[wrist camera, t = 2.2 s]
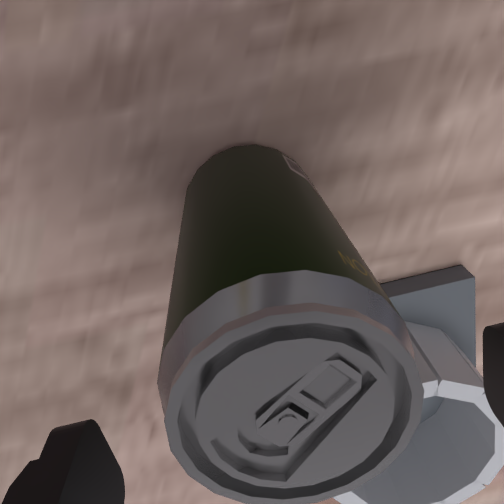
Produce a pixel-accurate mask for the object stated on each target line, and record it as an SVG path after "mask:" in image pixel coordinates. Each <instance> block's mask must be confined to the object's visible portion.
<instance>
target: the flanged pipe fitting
mask: <svg viewBox="0 0 504 504" xmlns="http://www.w3.org/2000/svg"><path fill="white" fill-rule="evenodd" d="M380 286H381V287H382V289H383V290H384V292H385V293H386V295H387V296H388V298H389V299H390V301H391V302H392V304H393V305H394V307H395V308H396V310H397V311H398V313H399V314H400V316H401V317H402V319H403V320H404V322H405V323H406V327H407V330H408V333H409V337H410V340H411V343H412V346H413V350H414V353H415V356H414V360H415V362H416V365H417V369H418V372H419V375H420V378H421V382H422V385H423V388H424V397H423V405H422V413H421V421H420V423H419V425H418V427H417V429H416V430H415V432H414V434H413V436H412V438H411V440H410V442H409V444H408V445H407V447H406V449H405V450H404V451H403V452H402V453H401V454H400V455H399V456H398V457H397V458H396V459H395V460H394V461H393V462H392V463H391V464H390V465H389V466H388V467H387V468H386V469H385V470H384V471H383V472H382V473H380V474H379V475H377V476H376V477H374V478H372V479H371V480H369V481H367V482H366V483H364V484H362V485H361V486H359V487H357V488H356V489H354V490H352V491H350V492H347V493H344V494H341V495H338V496H335V497H333V498H334V499H335V500H337V501H338V502H340V503H341V504H459V503H461V502H462V501H464V500H466V499H467V498H469V497H471V496H472V495H474V494H476V493H477V492H479V491H481V490H482V489H484V488H486V487H485V485H484V484H486V485H489V484H490V482H491V481H492V480H493V478H494V477H495V476H496V474H497V473H498V472H499V470H500V469H501V468H502V466H503V465H504V427H503V426H502V424H501V423H500V422H499V420H498V419H497V418H496V416H495V415H494V413H493V411H492V410H491V408H490V406H489V403H488V401H487V398H486V395H485V391H484V385H483V377H482V375H481V374H480V373H479V372H478V370H477V369H476V340H475V277H474V276H473V275H472V274H471V273H470V272H469V271H468V270H467V269H466V268H465V267H464V266H462V265H459V266H455V267H451V268H447V269H443V270H438V271H434V272H430V273H426V274H422V275H417V276H413V277H409V278H405V279H401V280H397V281H392V282H388V283H384V284H380Z"/></svg>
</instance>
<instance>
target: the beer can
mask: <svg viewBox="0 0 504 504" xmlns="http://www.w3.org/2000/svg"><path fill="white" fill-rule="evenodd" d="M414 356H415V353H414V350H413V346H412V343H411V340H410V337H409V333H408V330H407V327H406V323H405V322H404V320H403V319H402V317H401V316H400V314H399V313H398V311H397V310H396V308H395V307H394V305H393V304H392V302H391V301H390V299H389V298H388V296H387V295H386V293H385V292H384V290H383V289H382V287H381V286H380V284H379V283H378V281H377V280H376V278H375V277H374V275H373V274H372V272H371V271H370V269H369V268H368V266H367V265H366V263H365V262H364V260H363V259H362V257H361V256H360V254H359V253H358V251H357V250H356V248H355V247H354V245H353V244H352V243H351V241H350V240H349V238H348V237H347V235H346V234H345V232H344V231H343V229H342V228H341V226H340V225H339V223H338V222H337V220H336V219H335V217H334V216H333V214H332V213H331V211H330V210H329V208H328V207H327V205H326V204H325V202H324V201H323V199H322V198H321V196H320V195H319V193H318V192H317V190H316V189H315V187H314V186H313V184H312V183H311V181H310V180H309V178H308V177H307V175H306V174H305V173H304V172H303V170H302V169H301V168H300V167H299V166H298V164H297V163H296V162H295V161H294V160H293V159H291V158H289V157H288V156H286V155H284V154H283V153H281V152H280V151H278V150H276V149H272V148H267V147H263V146H259V145H249V146H238V147H232V148H230V149H228V150H225V151H223V152H221V153H218V154H216V155H214V156H213V157H212V158H210V159H209V160H208V161H207V162H206V163H205V164H204V165H202V166H201V167H200V168H199V169H198V170H197V172H196V174H195V175H194V177H193V179H192V181H191V182H190V184H189V186H188V188H187V193H186V198H185V203H184V209H183V215H182V222H181V228H180V235H179V242H178V248H177V255H176V261H175V268H174V275H173V281H172V288H171V294H170V301H169V308H168V314H167V321H166V327H165V334H164V341H163V347H162V354H161V360H160V367H159V374H158V380H157V384H158V389H159V394H160V398H161V403H162V408H163V413H164V415H165V418H164V422H165V427H166V432H167V436H168V441H169V446H170V450H171V452H172V453H173V455H174V456H175V457H176V459H177V460H178V462H179V463H180V464H181V466H182V467H183V469H184V470H185V471H186V473H187V474H188V475H189V476H190V477H192V478H193V479H194V480H196V481H197V482H199V483H200V484H202V485H203V486H205V487H206V488H208V489H209V490H210V491H212V492H213V493H215V494H218V495H221V496H224V497H227V498H230V499H233V500H236V501H239V502H242V503H245V504H309V503H317V502H320V501H323V500H326V499H329V498H332V497H335V496H338V495H341V494H344V493H347V492H350V491H352V490H354V489H356V488H357V487H359V486H361V485H362V484H364V483H366V482H367V481H369V480H371V479H372V478H374V477H376V476H377V475H379V474H380V473H382V472H383V471H384V470H385V469H386V468H387V467H388V466H389V465H390V464H391V463H392V462H393V461H394V460H395V459H396V458H397V457H398V456H399V455H400V454H401V453H402V452H403V451H404V450H405V449H406V447H407V445H408V444H409V442H410V440H411V438H412V436H413V434H414V432H415V430H416V429H417V427H418V425H419V423H420V421H421V413H422V405H423V397H424V388H423V385H422V382H421V378H420V375H419V372H418V369H417V365H416V362H415V360H414Z"/></svg>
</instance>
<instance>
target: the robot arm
mask: <svg viewBox="0 0 504 504" xmlns="http://www.w3.org/2000/svg"><path fill="white" fill-rule="evenodd" d="M483 385H484V391H485V395H486V398H487V401H488V403H489V406H490V408H491V410H492V411H493V413H494V415H495V416H496V418H497V419H498V420H499V422H500V423H501V424H502V426H503V427H504V322H503V323H499V324H495V325H491V326H487V327H485V329H484V331H483ZM124 499H125V485H124V478H123V474H122V471H121V468H120V466H119V464H118V462H117V460H116V458H115V456H114V454H113V452H112V451H111V449H110V447H109V445H108V443H107V441H106V439H105V437H104V435H103V433H102V431H101V429H100V427H99V425H98V424H97V423H96V421H94V420H92V419H90V420H86V421H81V422H77V423H73V424H69V425H64V426H60V427H56V428H54V429H53V430H52V431H51V432H50V434H49V436H48V438H47V441H46V443H45V446H44V448H43V450H42V453H41V455H40V458H39V459H37V460H33V461H30V462H29V463H28V464H27V466H26V467H25V468H24V469H23V471H22V472H21V473H20V474H19V476H18V477H17V478H16V479H15V481H14V482H13V483H12V484H11V486H10V487H9V489H8V491H7V493H6V495H5V498H4V500H3V502H2V504H124Z"/></svg>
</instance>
